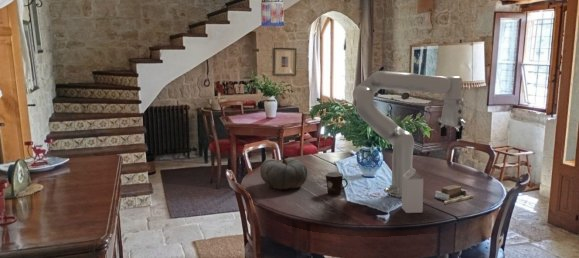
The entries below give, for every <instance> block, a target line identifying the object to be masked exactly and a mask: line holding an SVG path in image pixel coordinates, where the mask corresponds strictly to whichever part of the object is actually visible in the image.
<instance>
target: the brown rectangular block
mask: <svg viewBox="0 0 579 258" xmlns="http://www.w3.org/2000/svg"><path fill="white" fill-rule="evenodd" d="M461 189H462V186H460V185H456V184H453V185H448V186H443V187H441V192H442V193H445V194H448V195H449V198H454V197H458V196H461Z"/></svg>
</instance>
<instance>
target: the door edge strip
mask: <svg viewBox="0 0 579 258" xmlns="http://www.w3.org/2000/svg"><path fill="white" fill-rule="evenodd" d="M473 198H474V195H472V194H470V195H467V196H465V197H461V198H457V199H452V200H448V201H445V200H443V201H444V202H443V204H444V205H447V204H452V203H456V202H462V201H464V200H465V201H466V200H469V199H473Z"/></svg>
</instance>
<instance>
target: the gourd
mask: <svg viewBox="0 0 579 258" xmlns="http://www.w3.org/2000/svg"><path fill="white" fill-rule="evenodd" d="M260 177H261V179H262V180H263V182H264V183H265V184H266V185H267V186H269V187H271V188H274V189H278V190H281V191H282V190H289V189H292V190H293V189H298V188H300V187H302V186H303V185H304V184H305V182H306V180H307V178H308V169H307V167H306V165H305V163H303V162H302V161H300V160H299V159H298V158H295V157H288V158H285V156H284V155H281V160H280V161H279V160H277V159H275V158H268V159H265V160H264V161H263V162H262V163H261V165H260Z"/></svg>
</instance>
